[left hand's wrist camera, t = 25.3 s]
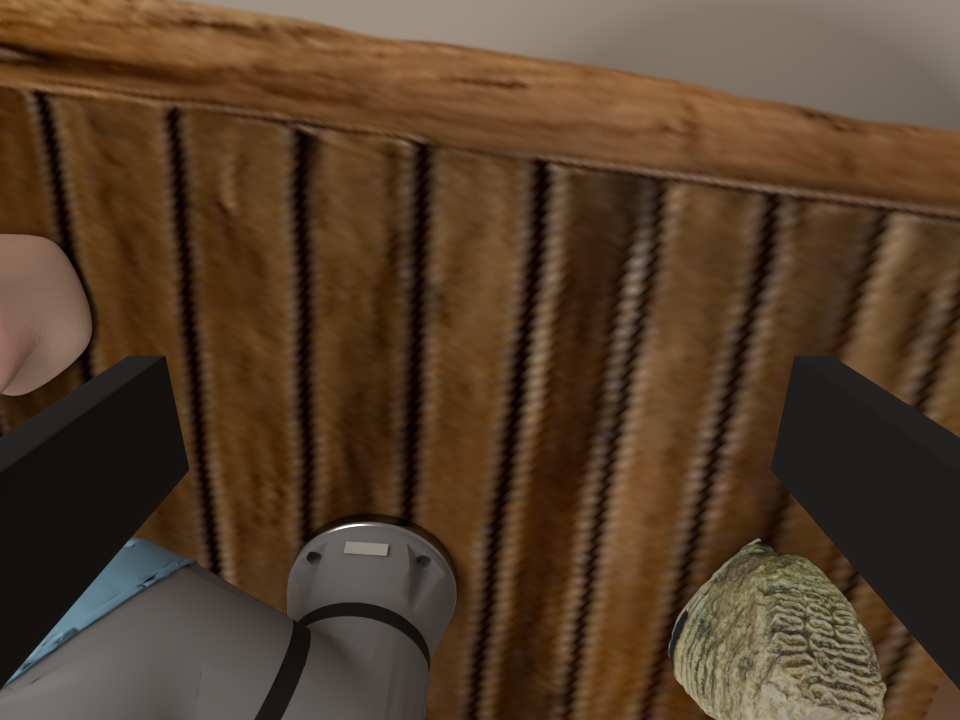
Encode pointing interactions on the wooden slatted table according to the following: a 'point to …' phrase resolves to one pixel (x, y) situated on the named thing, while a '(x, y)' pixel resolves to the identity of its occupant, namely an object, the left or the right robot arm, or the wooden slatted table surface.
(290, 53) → the wooden slatted table surface
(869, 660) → the fossil
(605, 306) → the wooden slatted table surface
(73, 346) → the anatomical model
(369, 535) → the left robot arm
